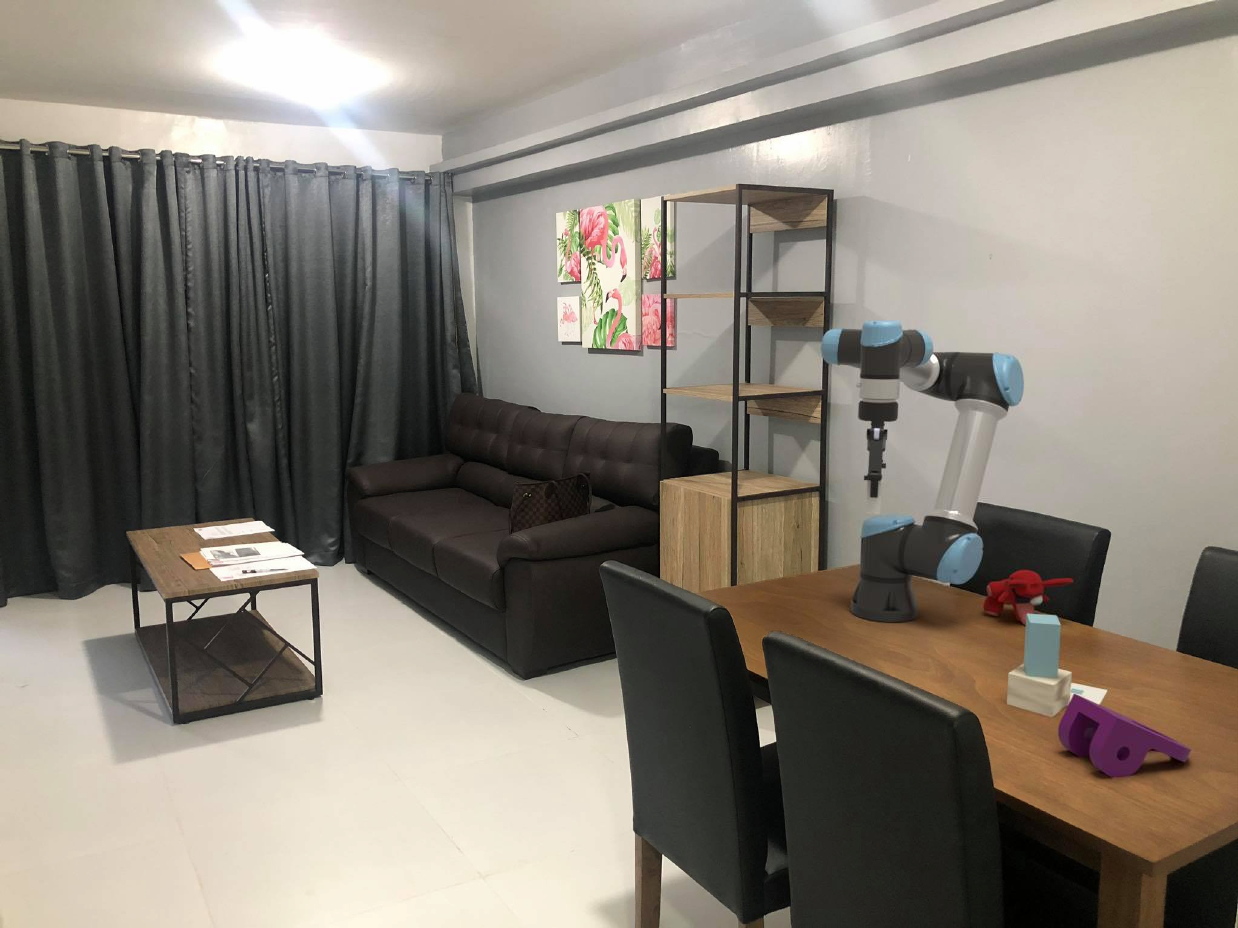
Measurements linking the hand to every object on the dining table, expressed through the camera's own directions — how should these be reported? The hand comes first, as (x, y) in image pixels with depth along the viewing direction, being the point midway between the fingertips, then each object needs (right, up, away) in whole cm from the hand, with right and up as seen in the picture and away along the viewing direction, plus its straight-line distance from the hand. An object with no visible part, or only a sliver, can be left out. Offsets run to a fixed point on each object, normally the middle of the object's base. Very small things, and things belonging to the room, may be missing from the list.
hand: (873, 506), depth 194 cm
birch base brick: (+25, -35, -18) cm, 46 cm away
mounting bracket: (+30, -39, -39) cm, 63 cm away
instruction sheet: (+34, -34, -14) cm, 50 cm away
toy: (+42, -28, +30) cm, 59 cm away
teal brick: (+25, -29, -19) cm, 43 cm away
